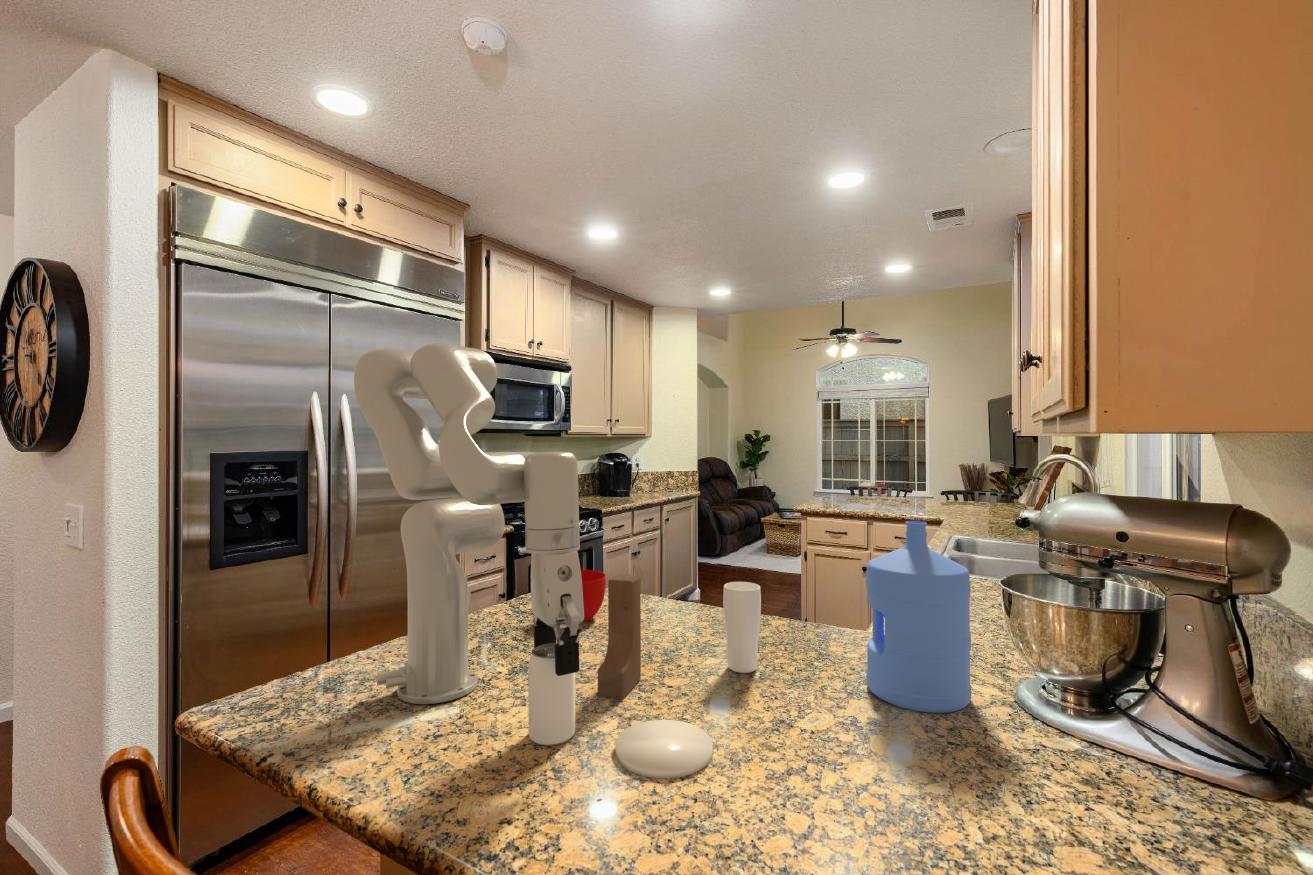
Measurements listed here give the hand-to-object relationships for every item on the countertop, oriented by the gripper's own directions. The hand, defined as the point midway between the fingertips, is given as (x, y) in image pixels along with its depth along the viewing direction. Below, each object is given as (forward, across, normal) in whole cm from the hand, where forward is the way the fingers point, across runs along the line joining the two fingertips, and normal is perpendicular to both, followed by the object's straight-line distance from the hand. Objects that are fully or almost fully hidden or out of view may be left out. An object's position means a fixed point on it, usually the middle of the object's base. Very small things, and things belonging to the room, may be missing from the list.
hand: (555, 662), depth 82 cm
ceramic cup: (+10, +49, -20) cm, 54 cm away
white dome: (+11, -10, -12) cm, 19 cm away
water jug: (+12, -14, -56) cm, 59 cm away
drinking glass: (+11, +8, -38) cm, 40 cm away
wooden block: (+11, +11, -14) cm, 21 cm away
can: (+11, +1, 0) cm, 11 cm away
